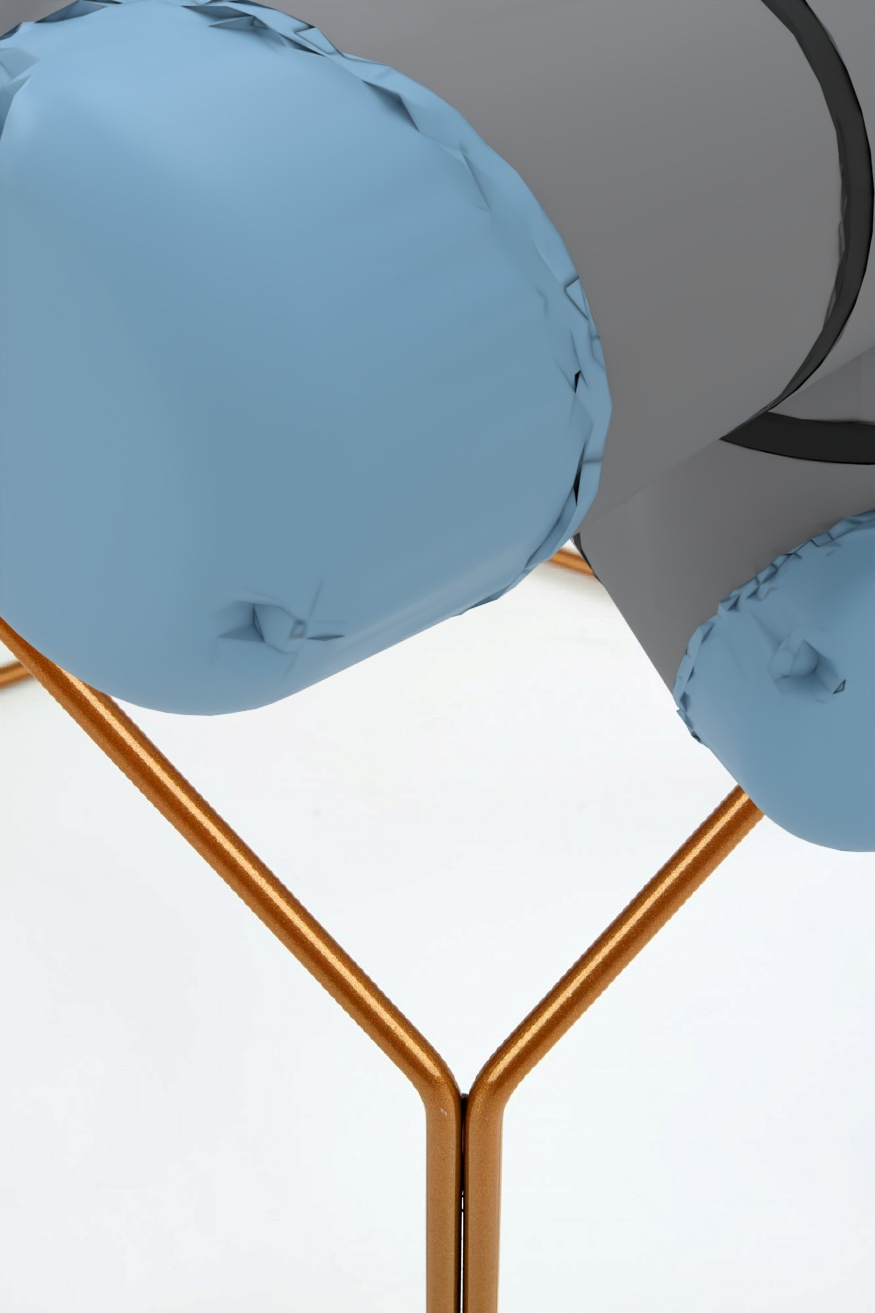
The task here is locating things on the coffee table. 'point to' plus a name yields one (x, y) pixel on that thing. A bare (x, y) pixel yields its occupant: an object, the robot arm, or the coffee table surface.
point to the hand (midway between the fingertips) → (434, 168)
